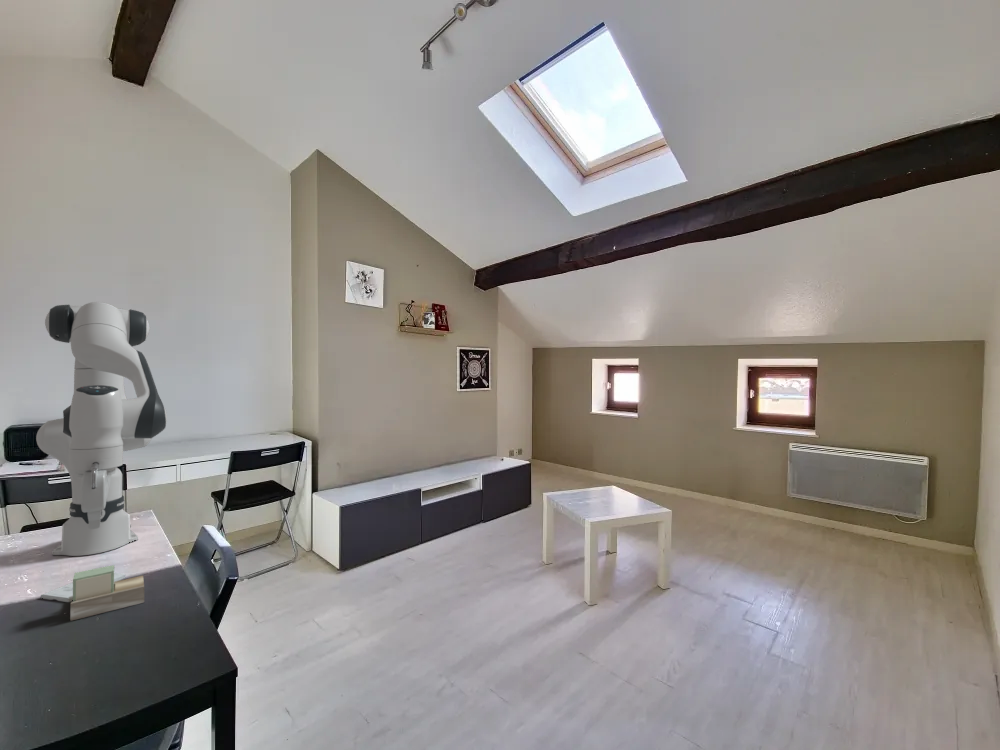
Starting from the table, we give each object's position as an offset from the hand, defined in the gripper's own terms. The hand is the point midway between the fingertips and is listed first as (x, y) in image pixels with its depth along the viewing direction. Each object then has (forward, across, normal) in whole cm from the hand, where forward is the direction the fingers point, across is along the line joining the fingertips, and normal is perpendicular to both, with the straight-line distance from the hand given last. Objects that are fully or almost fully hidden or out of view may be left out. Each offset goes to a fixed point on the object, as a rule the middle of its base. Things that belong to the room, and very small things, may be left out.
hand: (95, 522), depth 97 cm
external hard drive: (+20, +14, +2) cm, 24 cm away
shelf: (+19, +2, -2) cm, 19 cm away
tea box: (+17, 0, 0) cm, 17 cm away
